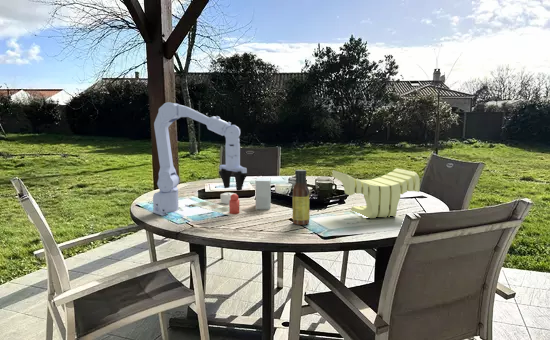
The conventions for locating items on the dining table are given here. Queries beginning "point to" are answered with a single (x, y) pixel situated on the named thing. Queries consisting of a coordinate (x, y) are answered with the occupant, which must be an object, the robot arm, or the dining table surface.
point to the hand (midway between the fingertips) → (232, 189)
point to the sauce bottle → (301, 199)
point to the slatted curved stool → (380, 191)
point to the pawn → (234, 204)
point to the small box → (263, 193)
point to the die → (226, 197)
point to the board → (219, 209)
